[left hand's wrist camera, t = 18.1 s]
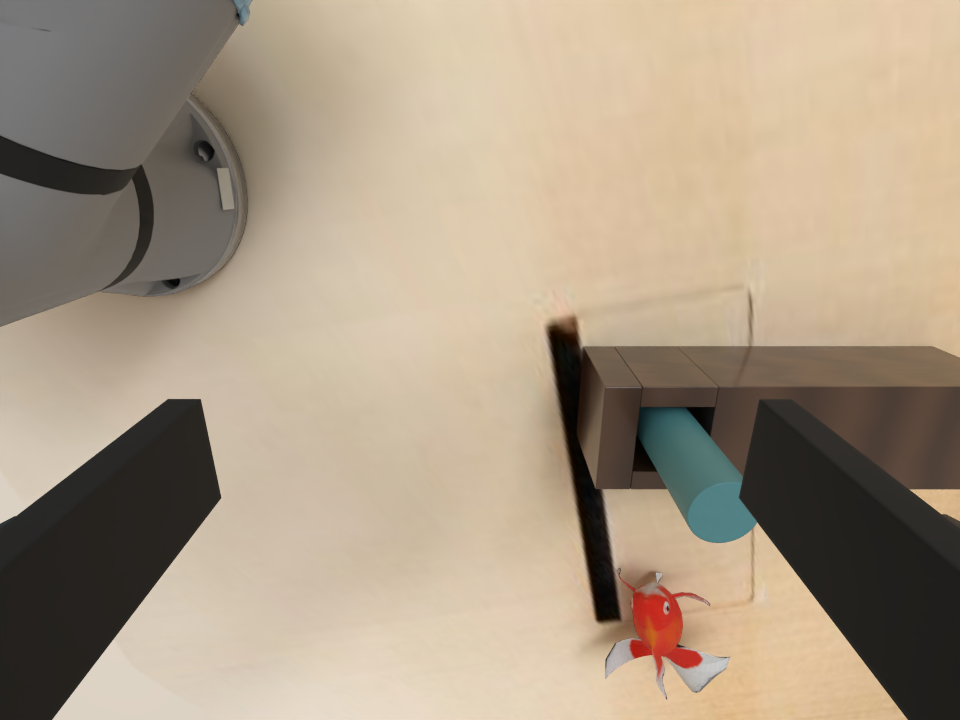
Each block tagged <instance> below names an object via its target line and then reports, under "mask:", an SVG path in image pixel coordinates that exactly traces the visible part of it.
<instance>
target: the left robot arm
mask: <svg viewBox="0 0 960 720" xmlns="http://www.w3.org/2000/svg"><path fill="white" fill-rule="evenodd" d="M251 2H252V0H0V327H1V326H4V325H7V324H9V323H12V322H15V321H18V320H21V319H23V318H26V317H29V316H32V315H35V314H37V313H40V312H43V311H46V310H49V309H51V308H54V307H57V306H60V305H63V304H65V303H68V302H71V301H74V300H76V299H79V298H82V297H85V296H88V295H90V294H93V293H95V292H107V293H117V294H127V295H134V296H162V295H168V294H173V293H176V292H179V291H182V290H185V289H187V288H189V287H191V286H194V285H196V284H198V283H200V282H203V281H205V280H206V279H208V278H210V277H211V276H213V275H214V274H215V273H217V272H218V271H219V270H220V269H221V268H222V267H223V266H224V265H225V264H226V263H227V262H228V260H229V259H230V258H231V257H232V255H233V253H234V252H235V250H236V249H237V246H238V244H239V242H240V240H241V237H242V235H243V232H244V228H245V223H246V217H247V189H246V182H245V177H244V173H243V169H242V166H241V163H240V160H239V157H238V155H237V153H236V151H235V148H234V146H233V144H232V142H231V141H230V139H229V137H228V135H227V134H226V132H225V131H224V129H223V128H222V126H221V125H220V123H219V122H218V121H217V120H216V118H215V117H214V116H213V115H212V113H211V112H210V111H209V110H208V109H207V108H206V107H205V106H204V105H203V104H202V103H201V102H200V101H199V100H198V99H197V98H195V97H194V96H193V95H192V94H191V93H192V91H193V90H194V88H195V87H196V85H197V84H198V83H199V81H200V80H201V78H202V77H203V75H204V74H205V72H206V71H207V69H208V68H209V67H210V65H211V64H212V62H213V61H214V59H215V58H216V56H217V55H218V53H219V52H220V51H221V49H222V48H223V46H224V45H225V43H226V42H227V40H228V39H229V37H230V36H231V35H232V33H233V32H234V30H235V29H236V27H237V26H238V24H241V25H242V26H243V25H244V24H245V22H246V21H247V20H248V18H249V14H250V11H249V5H250V3H251ZM220 499H221V494H220V489H219V485H218V480H217V475H216V470H215V465H214V461H213V456H212V451H211V446H210V441H209V437H208V432H207V427H206V422H205V418H204V413H203V408H202V403H201V399H168V400H166V401H165V402H164V403H162V404H161V405H160V406H159V407H157V408H156V409H155V410H153V411H152V412H151V413H149V414H148V415H147V416H146V417H144V418H143V419H142V420H140V421H139V422H138V423H137V424H135V425H134V426H133V427H131V428H130V429H129V430H127V431H126V432H125V433H124V434H122V435H121V436H120V437H118V438H117V439H116V440H114V441H113V442H112V443H111V444H109V445H108V446H107V447H105V448H104V449H103V450H102V451H100V452H99V453H98V454H96V455H95V456H94V457H92V458H91V459H90V460H89V461H87V462H86V463H85V464H83V465H82V466H81V467H79V468H78V469H77V470H76V471H74V472H73V473H72V474H70V475H69V476H68V477H67V478H65V479H64V480H63V481H61V482H60V483H59V484H57V485H56V486H55V487H54V488H52V489H51V490H50V491H48V492H47V493H46V494H44V495H43V496H42V497H41V498H39V499H38V500H37V501H35V502H34V503H33V504H32V505H30V506H29V507H28V508H26V509H25V510H24V511H22V512H21V513H20V514H19V515H17V516H15V517H12V518H10V519H9V520H7V521H5V522H3V523H1V524H0V720H52V719H53V718H54V716H55V715H56V714H57V713H58V711H59V710H60V709H61V707H62V706H63V705H64V703H65V702H66V701H67V699H68V698H69V697H70V695H71V694H72V693H73V692H74V690H75V689H76V688H77V686H78V685H79V684H80V682H81V681H82V680H83V678H84V677H85V676H86V674H87V673H88V672H89V671H90V669H91V668H92V667H93V665H94V664H95V663H96V661H97V660H98V659H99V657H100V656H101V655H102V654H103V652H104V651H105V650H106V648H107V647H108V646H109V644H110V643H111V642H112V640H113V639H114V638H115V636H116V635H117V634H118V633H119V631H120V630H121V629H122V627H123V626H124V625H125V623H126V622H127V621H128V619H129V618H130V617H131V615H132V614H133V613H134V612H135V610H136V609H137V608H138V606H139V605H140V604H141V602H142V601H143V600H144V598H145V597H146V596H147V595H148V593H149V592H150V591H151V589H152V588H153V587H154V585H155V584H156V583H157V581H158V580H159V579H160V577H161V576H162V575H163V574H164V572H165V571H166V570H167V568H168V567H169V566H170V564H171V563H172V562H173V560H174V559H175V558H176V557H177V555H178V554H179V553H180V551H181V550H182V549H183V547H184V546H185V545H186V543H187V542H188V541H189V539H190V538H191V537H192V536H193V534H194V533H195V532H196V530H197V529H198V528H199V526H200V525H201V524H202V522H203V521H204V520H205V518H206V517H207V516H208V515H209V513H210V512H211V511H212V509H213V508H214V507H215V505H216V504H217V503H218V501H219V500H220ZM739 499H740V500H741V501H742V503H743V504H744V505H745V507H746V508H747V509H748V511H749V512H750V513H751V515H752V516H753V517H754V518H755V520H756V521H757V522H758V524H759V525H760V526H761V528H762V529H763V530H764V532H765V533H766V534H767V536H768V537H769V538H770V539H771V541H772V542H773V543H774V545H775V546H776V547H777V549H778V550H779V551H780V553H781V554H782V555H783V557H784V558H785V559H786V560H787V562H788V563H789V564H790V566H791V567H792V568H793V570H794V571H795V572H796V574H797V575H798V576H799V577H800V579H801V580H802V581H803V583H804V584H805V585H806V587H807V588H808V589H809V591H810V592H811V593H812V595H813V596H814V597H815V598H816V600H817V601H818V602H819V604H820V605H821V606H822V608H823V609H824V610H825V612H826V613H827V614H828V615H829V617H830V618H831V619H832V621H833V622H834V623H835V625H836V626H837V627H838V629H839V630H840V631H841V633H842V634H843V635H844V636H845V638H846V639H847V640H848V642H849V643H850V644H851V646H852V647H853V648H854V650H855V651H856V652H857V654H858V655H859V656H860V657H861V659H862V660H863V661H864V663H865V664H866V665H867V667H868V668H869V669H870V671H871V672H872V673H873V674H874V676H875V677H876V678H877V680H878V681H879V682H880V684H881V685H882V686H883V688H884V689H885V690H886V692H887V693H888V694H889V695H890V697H891V698H892V699H893V701H894V702H895V703H896V705H897V706H898V707H899V709H900V710H901V711H902V713H903V714H904V715H905V716H906V718H907V719H908V720H960V521H958V520H956V519H954V518H952V517H950V516H948V515H946V514H940V513H939V512H938V511H936V510H935V509H934V508H932V507H931V506H930V505H928V504H927V503H926V502H925V501H923V500H922V499H921V498H919V497H918V496H917V495H916V494H914V493H913V492H912V491H910V490H909V489H908V488H906V487H905V486H904V485H903V484H901V483H900V482H899V481H897V480H896V479H895V478H893V477H892V476H891V475H890V474H888V473H887V472H886V471H884V470H883V469H882V468H881V467H879V466H878V465H877V464H875V463H874V462H873V461H871V460H870V459H869V458H868V457H866V456H865V455H864V454H862V453H861V452H860V451H858V450H857V449H856V448H855V447H853V446H852V445H851V444H849V443H848V442H847V441H846V440H844V439H843V438H842V437H840V436H839V435H838V434H836V433H835V432H834V431H833V430H831V429H830V428H829V427H827V426H826V425H825V424H823V423H822V422H821V421H820V420H818V419H817V418H816V417H814V416H813V415H812V414H811V413H809V412H808V411H807V410H805V409H804V408H803V407H801V406H800V405H799V404H798V403H796V402H795V401H794V400H792V399H759V403H758V408H757V413H756V418H755V422H754V427H753V432H752V437H751V441H750V446H749V451H748V456H747V461H746V465H745V470H744V475H743V480H742V485H741V489H740V494H739Z"/></svg>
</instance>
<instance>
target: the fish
mask: <svg viewBox="0 0 960 720" xmlns="http://www.w3.org/2000/svg"><path fill="white" fill-rule="evenodd" d="M620 572H621V569H620V568H619V569H618V570H617V573H618V575H619V574H620ZM619 578H620V579H621V577H620V575H619ZM661 578H662V573H656V583H648V584H645V585H643V586H641V587H639V588H638V589H635V588H633V587H631V586H630V585H628V584H627V583H626V582H624V581H623V580H622V579H621V581H622V582H623V583H624V585H625V586H626V587H627V588H629V589H630V590H632V591H634V592H635V593H634V595H633V597H632V600H631V608H632V610H633V621H634V625H635V628H636V632H637V634H638V636H639V637H640V638H630V639H626V640H623V641H620V642H617V643H615V645H614V646H613V648H612V650H611V651H610V653H609V655H608V656H607V658H606V667H605V679H606V678H607V676H608V675H609V674H610V673H611V672H613V671H614V670H615V669H616V668H618V667H619V666H621V665H622V664H624V663H626V662H628V661H630V660H633V659H635V658H638V657H642V656H647V655H653V657H654V661H655V666H656V671H657V674H656V681H657V683H658V686H659V688H660V690H661V691H662V693H663V695H664V696H665V698H666V699H667V696H666V693H665V690H664V686H663V675H664V671H665V668H664V665H663V662H662V659H661V656H664V657H665V658H667V659H668V661H669V662H670V663H671V664H672V666H673V667H674V669H675V670H676V672H677V673H678V675H679V676H680V677H681V678H682V680H683V681H684V682H685V684H686V685H687V686H688V687H689V688H690V690H691V691H692V692H696V693H697V692H700V691H701V690H702V689H703V688H704V687H705V686H706V685H707V684H708V683H709V682H710V681H711V680H712V679H713V678H714V677H715V676H717V675H718V674H720V673H721V672H722V671H724V670H725V669H726V667H727V664H728V661H729V658H730V657H716V656H713V655H709V654H706V653H703V652H700V651H696V650H693V649H690V648H687V647H684V646H681V645H678V643H679V641H680V638H681V633H682V629H683V621H682V613H681V610H680V608H679V605H678V603H677V601H676V598H679V597H682V596H687V597H691V598H693V599H696V600H699V601H702V602H705V603H706V604H707V605H709V606H710V604H709V602H708V601H707V600H705V599H703V598H701V597H699V596H697V595H696V594H693V593H683V592H681V593H676V594H671V593H670V592H669V591H668V590H667V589H666V588H665V587H663V586H662V585H660V584H658V582H659V580H660V579H661Z"/></svg>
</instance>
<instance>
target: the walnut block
mask: <svg viewBox="0 0 960 720" xmlns="http://www.w3.org/2000/svg"><path fill="white" fill-rule="evenodd" d="M759 399H792V400H794V401H795V402H796V403H798V404H799V405H800V406H801V407H803V408H804V409H805V410H807V411H808V412H809V413H811V414H812V415H813V416H814V417H816V418H817V419H818V420H820V421H821V422H822V423H823V424H825V425H826V426H827V427H829V428H830V429H831V430H833V431H834V432H835V433H836V434H838V435H839V436H840V437H842V438H843V439H844V440H846V441H847V442H848V443H849V444H851V445H852V446H853V447H855V448H856V449H857V450H858V451H860V452H861V453H862V454H864V455H865V456H866V457H868V458H869V459H870V460H871V461H873V462H874V463H875V464H877V465H878V466H879V467H881V468H882V469H883V470H884V471H886V472H887V473H888V474H890V475H891V476H892V477H893V478H895V479H896V480H897V481H899V482H900V483H901V484H903V485H904V486H905V487H906V488H908V489H960V358H959V357H957V356H954V355H952V354H949V353H947V352H945V351H942V350H940V349H937V348H935V347H583V354H582V367H581V381H580V394H579V408H578V421H577V437H578V440H579V443H580V445H581V448H582V451H583V454H584V457H585V460H586V463H587V465H588V468H589V471H590V474H591V477H592V480H593V483H594V485H595V488H596V489H630V488H631V489H667V487H666V485H665V484H664V482H663V480H662V478H661V477H660V475H659V473H658V471H657V470H656V468H655V466H654V464H653V463H652V461H651V459H650V457H649V455H648V454H647V452H646V450H645V448H644V447H643V445H642V443H641V441H640V440H639V438H638V436H637V428H638V420H639V411H640V407H686V408H687V410H688V411H689V412H690V413H691V414H692V416H693V417H694V418H695V419H696V420H697V422H698V423H699V424H700V425H701V426H702V428H703V429H704V430H705V431H706V432H707V434H708V435H709V436H710V437H711V439H712V440H713V441H714V442H715V443H716V445H717V446H718V447H719V448H720V449H721V451H722V452H723V453H724V454H725V455H726V457H727V458H728V459H729V460H730V461H731V463H732V464H733V465H734V466H735V468H736V469H737V470H738V471H739V472H740V474H741V475H742V476H743V475H744V470H745V465H746V461H747V456H748V451H749V446H750V441H751V437H752V432H753V427H754V422H755V418H756V413H757V408H758V403H759Z"/></svg>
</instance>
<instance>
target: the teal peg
mask: <svg viewBox="0 0 960 720" xmlns="http://www.w3.org/2000/svg"><path fill="white" fill-rule="evenodd" d="M637 436H638V438H639V440H640V441H641V443H642V445H643V447H644V448H645V450H646V452H647V454H648V455H649V457H650V459H651V461H652V463H653V464H654V466H655V468H656V470H657V471H658V473H659V475H660V477H661V478H662V480H663V482H664V484H665V485H666V487H667V489H668V491H669V492H670V494H671V496H672V498H673V500H674V501H675V503H676V505H677V507H678V508H679V510H680V512H681V514H682V515H683V517H684V519H685V521H686V522H687V524H688V526H689V528H690V529H691V531H692V532H693V533H694V534H695V535H696V536H697V537H699V538H700V539H702V540H705V541H708V542H712V543H724V542H730V541H733V540H736V539H738V538H740V537H742V536H744V535H745V534H747V533H748V532H749V531H750V530H751V529H752V528H753V527H754V526H755V525H756V523H757V521H756V520H755V518H754V517H753V516H752V515H751V513H750V512H749V511H748V509H747V508H746V507H745V505H744V504H743V503H742V501H741V500H740V499H739V494H740V489H741V485H742V480H743V476H742V475H741V474H740V472H739V471H738V470H737V469H736V468H735V466H734V465H733V464H732V463H731V461H730V460H729V459H728V458H727V457H726V455H725V454H724V453H723V452H722V451H721V449H720V448H719V447H718V446H717V445H716V443H715V442H714V441H713V440H712V439H711V437H710V436H709V435H708V434H707V432H706V431H705V430H704V429H703V428H702V426H701V425H700V424H699V423H698V422H697V420H696V419H695V418H694V417H693V416H692V414H691V413H690V412H689V411H688V410H687V408H686V407H640V411H639V420H638V428H637Z"/></svg>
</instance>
